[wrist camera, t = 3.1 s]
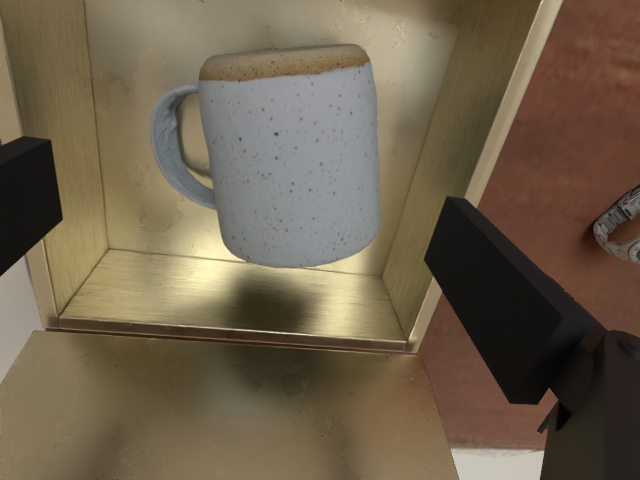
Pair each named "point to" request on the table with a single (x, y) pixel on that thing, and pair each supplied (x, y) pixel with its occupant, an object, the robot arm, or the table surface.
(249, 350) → the box lid
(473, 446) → the table surface
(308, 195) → the ceramic mug
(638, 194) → the wristwatch
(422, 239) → the open metal box
